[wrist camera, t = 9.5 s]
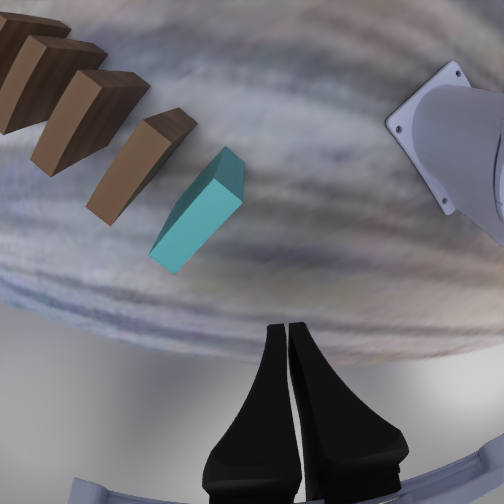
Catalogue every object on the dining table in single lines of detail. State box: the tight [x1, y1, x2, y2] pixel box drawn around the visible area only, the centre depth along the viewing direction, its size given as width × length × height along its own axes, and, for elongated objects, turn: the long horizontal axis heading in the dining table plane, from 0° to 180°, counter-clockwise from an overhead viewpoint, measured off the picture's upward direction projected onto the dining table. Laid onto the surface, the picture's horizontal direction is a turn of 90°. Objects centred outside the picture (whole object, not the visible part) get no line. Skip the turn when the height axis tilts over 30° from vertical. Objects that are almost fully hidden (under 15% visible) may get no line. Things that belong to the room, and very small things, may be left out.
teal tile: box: [148, 147, 244, 274], centre depth 16 cm, size 2×5×7 cm, turn 137°
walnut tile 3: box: [30, 70, 151, 177], centre depth 13 cm, size 2×5×7 cm, turn 136°
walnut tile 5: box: [0, 12, 71, 90], centre depth 11 cm, size 2×5×7 cm, turn 137°
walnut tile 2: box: [86, 108, 198, 227], centre depth 15 cm, size 2×5×7 cm, turn 137°
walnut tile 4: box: [0, 35, 108, 135], centre depth 12 cm, size 2×5×7 cm, turn 137°
